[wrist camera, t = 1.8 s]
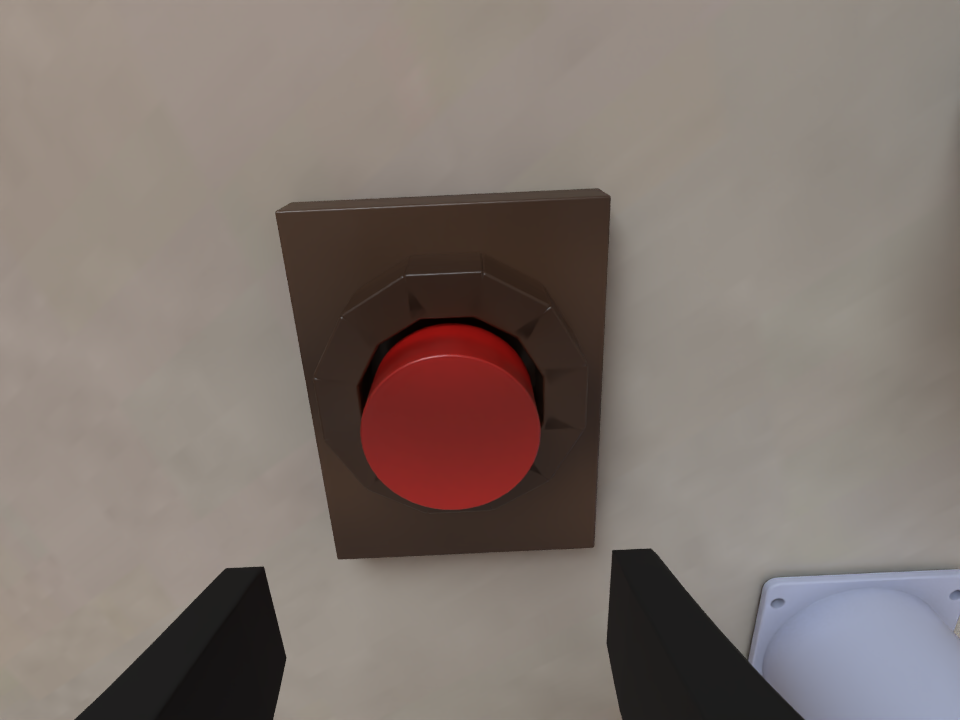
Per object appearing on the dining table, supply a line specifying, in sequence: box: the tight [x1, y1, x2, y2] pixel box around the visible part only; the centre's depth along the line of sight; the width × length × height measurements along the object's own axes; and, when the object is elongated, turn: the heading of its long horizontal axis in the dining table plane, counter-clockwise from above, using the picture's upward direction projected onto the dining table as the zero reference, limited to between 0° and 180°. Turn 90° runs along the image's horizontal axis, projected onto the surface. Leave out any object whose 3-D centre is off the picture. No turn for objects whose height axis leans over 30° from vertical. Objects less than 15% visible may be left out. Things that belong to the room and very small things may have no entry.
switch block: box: [275, 188, 611, 559], centre depth 18 cm, size 12×9×4 cm
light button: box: [360, 323, 541, 510], centre depth 15 cm, size 4×4×2 cm
